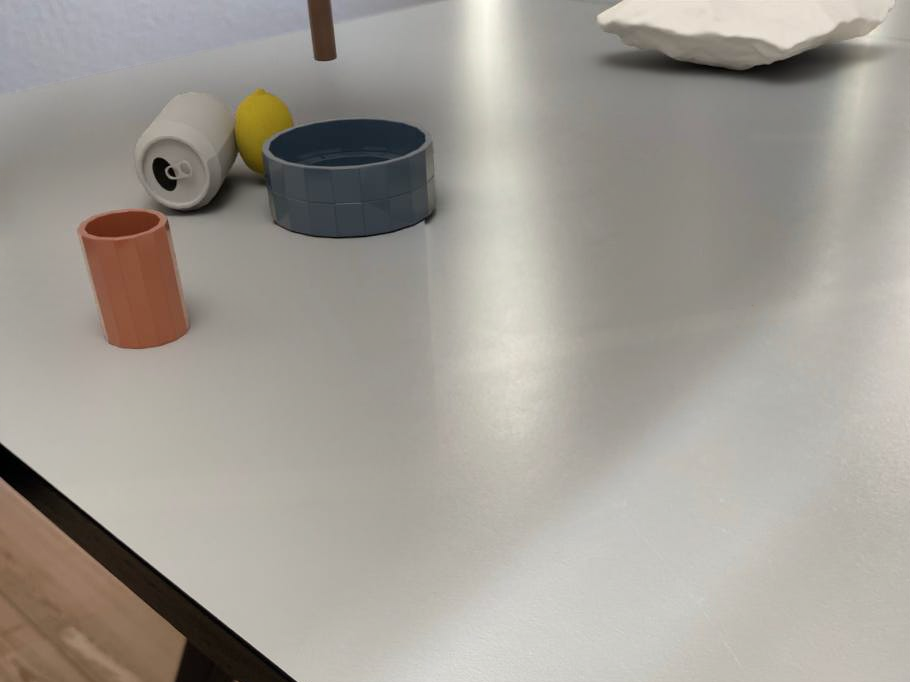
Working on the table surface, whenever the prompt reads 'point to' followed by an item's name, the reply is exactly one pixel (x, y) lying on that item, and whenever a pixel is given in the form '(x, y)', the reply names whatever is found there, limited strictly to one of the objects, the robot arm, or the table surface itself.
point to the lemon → (259, 126)
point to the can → (187, 151)
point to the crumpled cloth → (740, 27)
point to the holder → (134, 277)
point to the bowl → (350, 176)
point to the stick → (322, 30)
